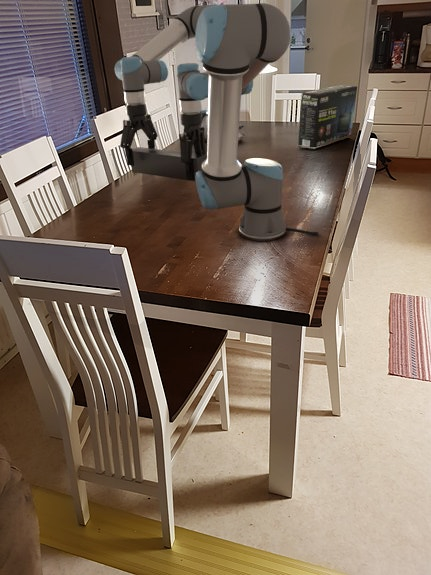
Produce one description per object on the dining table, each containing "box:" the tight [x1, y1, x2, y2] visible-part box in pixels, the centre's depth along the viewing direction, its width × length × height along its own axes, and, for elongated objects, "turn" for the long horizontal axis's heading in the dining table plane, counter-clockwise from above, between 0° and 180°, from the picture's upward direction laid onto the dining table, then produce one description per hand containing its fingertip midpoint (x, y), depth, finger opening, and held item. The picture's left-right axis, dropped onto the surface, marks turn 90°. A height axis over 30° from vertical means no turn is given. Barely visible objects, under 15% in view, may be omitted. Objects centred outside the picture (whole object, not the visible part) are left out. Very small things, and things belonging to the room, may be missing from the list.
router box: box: [297, 84, 358, 151], centre depth 238 cm, size 36×11×27 cm, turn 134°
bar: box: [130, 146, 206, 182], centre depth 175 cm, size 31×6×8 cm, turn 60°
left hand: (141, 160), depth 181 cm, fingers open, 13 cm apart
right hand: (194, 177), depth 172 cm, fingers closed on bar, 6 cm apart
